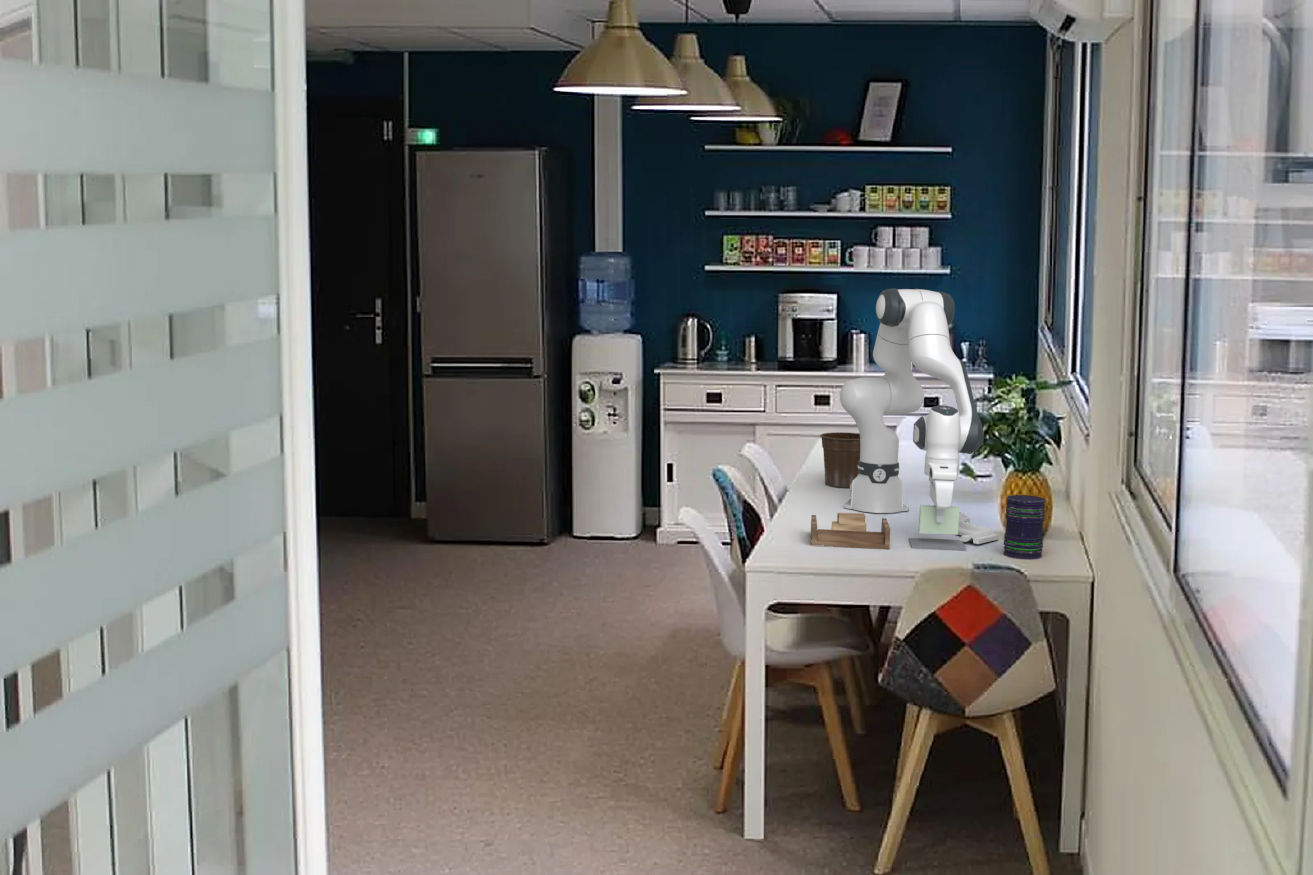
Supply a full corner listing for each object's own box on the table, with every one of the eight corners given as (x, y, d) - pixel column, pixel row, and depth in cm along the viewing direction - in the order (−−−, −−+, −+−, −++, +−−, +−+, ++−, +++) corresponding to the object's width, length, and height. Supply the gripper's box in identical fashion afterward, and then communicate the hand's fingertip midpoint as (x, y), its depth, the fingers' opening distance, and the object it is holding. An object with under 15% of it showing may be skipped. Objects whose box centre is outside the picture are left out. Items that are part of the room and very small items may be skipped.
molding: (920, 517, 468) (920, 507, 468) (961, 517, 470) (961, 507, 469) (963, 544, 426) (964, 533, 426) (1008, 544, 428) (1009, 534, 427)
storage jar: (1003, 558, 413) (1006, 500, 411) (1002, 550, 423) (1005, 494, 421) (1043, 560, 412) (1047, 502, 409) (1041, 553, 421) (1045, 496, 419)
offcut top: (837, 521, 435) (837, 512, 434) (863, 522, 435) (863, 513, 434) (838, 524, 431) (839, 515, 430) (865, 525, 431) (865, 516, 430)
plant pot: (813, 487, 514) (815, 436, 511) (823, 479, 529) (825, 430, 527) (864, 491, 509) (866, 440, 507) (872, 483, 524) (875, 434, 522)
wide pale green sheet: (918, 531, 428) (919, 505, 427) (956, 532, 427) (958, 506, 426) (919, 533, 426) (920, 506, 425) (957, 534, 425) (959, 508, 424)
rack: (810, 533, 437) (811, 514, 436) (885, 537, 435) (886, 518, 435) (811, 545, 421) (812, 526, 420) (889, 549, 420) (890, 529, 419)
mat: (908, 539, 433) (908, 537, 433) (961, 542, 432) (961, 540, 432) (911, 548, 422) (912, 545, 422) (966, 550, 421) (966, 548, 421)
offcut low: (831, 531, 435) (831, 520, 435) (865, 532, 435) (865, 522, 434) (831, 534, 431) (832, 523, 431) (866, 535, 431) (866, 525, 430)
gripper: (925, 462, 435) (923, 513, 437) (933, 473, 415) (930, 527, 416) (949, 463, 434) (946, 514, 436) (958, 474, 414) (955, 528, 416)
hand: (938, 520), depth 426 cm, fingers closed on wide pale green sheet, 2 cm apart
